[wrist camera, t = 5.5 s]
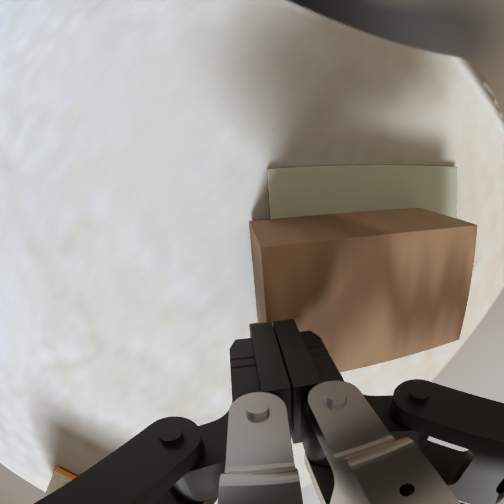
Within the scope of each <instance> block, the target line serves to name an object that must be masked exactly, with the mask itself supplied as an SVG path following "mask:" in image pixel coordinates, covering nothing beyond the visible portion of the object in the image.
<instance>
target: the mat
mask: <svg viewBox="0 0 504 504" xmlns="http://www.w3.org/2000/svg"><path fill="white" fill-rule="evenodd" d="M267 178H268V191H269V205H270V219H278V218H289V217H300V216H312V215H324V214H336V213H349V212H363V211H377V210H392V209H408V208H423V209H426V210H430V211H433V212H437V213H440V214H443V215H447V216H450V217H453V218H456V213H457V167H450V166H425V165H336V166H310V167H291V168H275V169H267Z"/></svg>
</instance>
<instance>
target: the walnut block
mask: <svg viewBox="0 0 504 504" xmlns="http://www.w3.org/2000/svg"><path fill="white" fill-rule="evenodd" d="M249 227H250V238H251V249H252V261H253V272H254V283H255V295H256V306H257V317H258V323H262V322H271V324H272V321H279V320H287V319H294V321H295V323H296V325H297V327H298V329H299V332H303V331H312V332H313V333H315V334H316V335H318V336H319V337H321V339H322V341H323V343H324V345H325V348H327V350H328V352H329V355H330V356H331V358H332V360H333V361H334V363H335V365H336V367H337V369H338V371H339V372H343V371H348V370H353V369H357V368H361V367H366V366H370V365H374V364H378V363H382V362H386V361H390V360H393V359H397V358H401V357H404V356H408V355H411V354H415V353H418V352H422V351H425V350H428V349H431V348H434V347H438V346H441V345H444V344H447V343H450V342H453V341H455V340H458V339H459V337H460V333H461V329H462V325H463V320H464V316H465V311H466V306H467V301H468V295H469V289H470V283H471V277H472V270H473V263H474V254H475V245H476V234H477V225H475V224H472V223H469V222H466V221H463V220H459V219H456V218H453V217H450V216H447V215H443V214H440V213H437V212H433V211H430V210H426V209H423V208H408V209H392V210H377V211H363V212H349V213H336V214H324V215H312V216H300V217H289V218H278V219H268V220H257V221H249Z"/></svg>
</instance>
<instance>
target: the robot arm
mask: <svg viewBox="0 0 504 504" xmlns="http://www.w3.org/2000/svg"><path fill="white" fill-rule="evenodd" d="M250 337H251V338H248V339H238V340H235V341H234V343H233V345H232V346H231V348H230V364H231V382H232V399H233V400H232V404H231V406H230V408H229V411H228V412H227V413H226V414H225V415H224V416H223V417H221V418H220V419H218V420H216V421H213V422H211V423H207V424H204V425H201V426H197V425H196V424H195V423H194V422H192V421H191V420H189V419H186V418H183V417H167V418H163V419H160V420H158V421H156V422H154V423H152V424H151V425H150V426H148V427H147V428H146V429H144V430H143V431H142V432H140V433H139V434H138V435H136V436H135V437H133V438H132V439H131V440H129V441H128V442H127V443H125V444H124V445H122V446H121V447H120V448H118V449H117V450H115V451H114V452H113V453H111V454H110V455H108V456H107V457H105V458H104V459H103V460H101V461H100V462H98V463H97V464H95V465H94V466H92V467H91V468H89V469H88V470H86V471H85V472H83V473H82V474H80V475H79V476H77V477H76V478H74V479H73V480H71V481H70V482H68V483H67V484H65V485H64V486H62V487H60V488H59V489H57V490H56V491H54V492H52V493H51V494H49V495H48V496H46V497H44V498H43V499H41V500H39V501H38V502H36V503H34V504H214V503H215V501H216V500H217V498H218V504H303V500H302V493H301V486H300V480H299V474H298V470H297V468H296V469H295V464H294V458H293V451H292V444H291V436H292V440H293V444H294V443H300V442H303V446H304V449H305V458H304V460H305V465H306V467H307V470H308V472H309V475H310V478H311V480H312V483H313V485H314V488H315V490H316V493H317V495H318V497H319V500H320V502H321V504H464V503H460V502H459V501H458V500H460V501H463V502H466V503H470V504H504V403H501V402H496V401H493V400H489V399H486V398H482V397H479V396H475V395H472V394H468V393H465V392H462V391H458V390H455V389H452V388H448V387H445V386H442V385H439V384H435V383H432V382H429V381H425V380H418V379H415V380H409V381H405V382H403V383H401V384H400V385H399V386H398V387H397V388H396V389H395V391H394V394H393V396H367V395H363V394H362V393H361V392H360V390H359V389H358V388H357V387H356V386H354V385H352V384H350V383H348V382H344V380H343V378H342V376H341V374H340V373H339V371H338V369H337V367H336V365H335V363H334V361H333V360H332V358H331V356H330V355H329V352H328V350H327V348H325V345H324V343H323V341H322V339H321V337H319V336H318V335H316V334H315V333H313V332H312V331H303V332H299V329H298V327H297V325H296V323H295V321H294V319H287V320H279V321H272V324H271V322H262V323H253V324H250ZM429 436H431V437H434V438H437V439H439V440H442V441H445V442H448V443H451V444H455V445H458V446H461V447H464V448H467V449H469V450H468V451H464V452H462V451H457V450H454V449H451V448H448V447H445V446H442V445H439V444H436V443H433V442H430V441H428V440H427V439H428V437H429Z"/></svg>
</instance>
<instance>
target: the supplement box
mask: <svg viewBox="0 0 504 504" xmlns="http://www.w3.org/2000/svg"><path fill="white" fill-rule="evenodd" d="M76 477H77V476H76V475H73V474H71V473H69V472H67V471H65V470H63V469H61V468H60V467H56V468H55V470H54V473H53V476H52V478H51V481H50V483H49V486H48V488H47V491H46V494H45V497H46V496H48V495H49V494H51V493H52V492H54V491H56V490H57V489H59V488H60V487H62V486H64V485H65V484H67V483H68V482H70V481H71V480H73V479H74V478H76Z"/></svg>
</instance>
